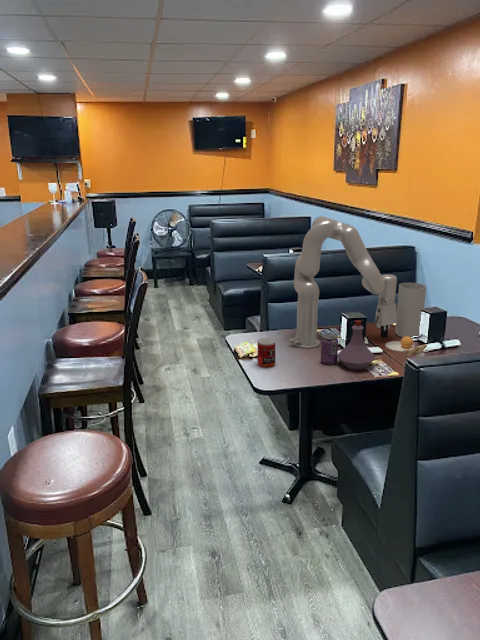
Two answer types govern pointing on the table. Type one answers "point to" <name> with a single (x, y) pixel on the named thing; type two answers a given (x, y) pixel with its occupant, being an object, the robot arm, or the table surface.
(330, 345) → the beverage can
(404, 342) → the ball
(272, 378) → the table surface
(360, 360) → the flask
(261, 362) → the canned food
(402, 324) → the cylinder vase
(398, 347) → the mark
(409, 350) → the stopper rail
